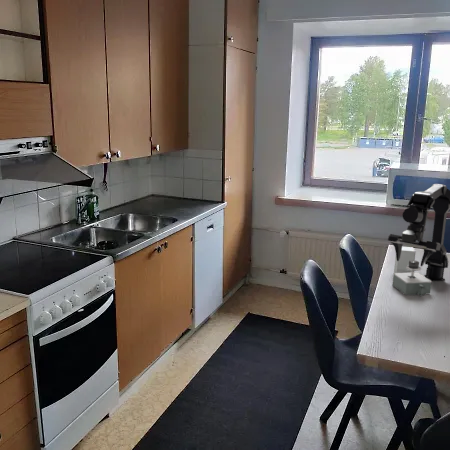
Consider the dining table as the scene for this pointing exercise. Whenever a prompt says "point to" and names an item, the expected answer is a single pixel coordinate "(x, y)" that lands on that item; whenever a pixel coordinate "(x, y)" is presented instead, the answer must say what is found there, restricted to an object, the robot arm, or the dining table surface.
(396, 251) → the robot arm
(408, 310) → the dining table surface
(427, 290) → the pale grey box
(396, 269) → the supplement box
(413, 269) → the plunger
